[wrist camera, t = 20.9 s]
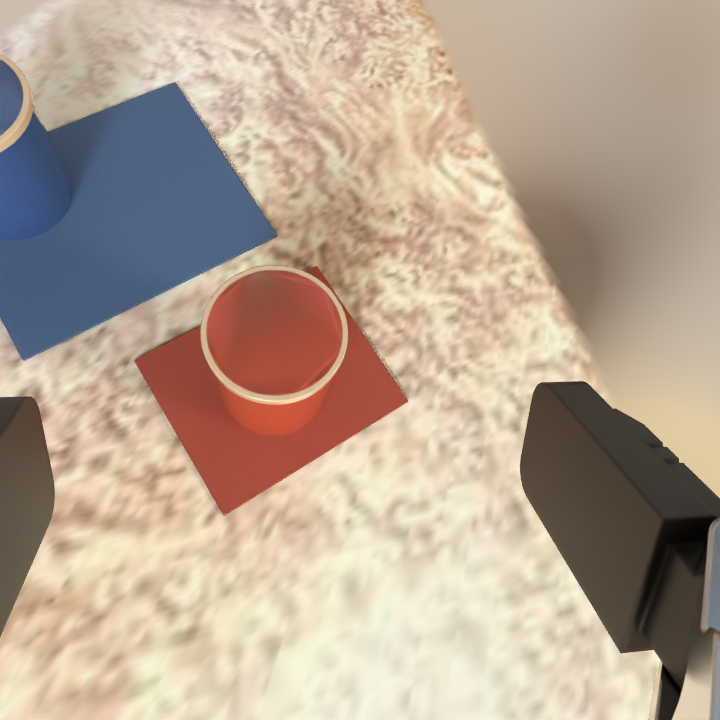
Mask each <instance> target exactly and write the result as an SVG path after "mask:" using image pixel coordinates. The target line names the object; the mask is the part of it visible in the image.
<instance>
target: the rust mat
mask: <svg viewBox="0 0 720 720" xmlns="http://www.w3.org/2000/svg"><path fill="white" fill-rule="evenodd" d="M306 273H309V274H311V275H312V276H314V277H316V278H317V279H319V280H320V281H321V282H323V283H324V284H325V285H326V286H327V287H328V288H329V289H330V290H331V291H332V292H333V293H334V295H335V296H336V297H337V295H336V294H335V292H334V291H333V289H332V288H331V286H330V285H329V283H328V282H327V281H326V279H325V278H324V276H323V275H322V273H321V272H320V270H319V269H318V267H317V266H316V267H314V268H312V269H310V270H308V271H306ZM337 299H338V301H339V302H340V304H341V306H342V308H343V311H344V313H345V316H346V320H347V326H348V343H347V349H346V352H345V355H344V359H343V361H342V363H341V366H340V368H339V369H338V371H337V373H336V374H335V376H334V377H333V379H332V382H331V385H330V389H329V392H328V395H327V398H326V401H325V403H324V406H323V408H322V409H321V411H320V413H319V414H318V415H317V416H316V418H315V419H314V420H313V421H312V422H310V423H309V424H308V425H307V426H305V427H304V428H302V429H300V430H298V431H296V432H293V433H290V434H287V435H282V436H265V435H260V434H256V433H253V432H251V431H249V430H246V429H245V428H243V427H242V426H240V425H239V424H238V423H236V422H235V421H234V420H233V419H232V418H231V417H230V415H229V414H228V413H227V411H226V410H225V408H224V406H223V404H222V401H221V398H220V395H219V391H218V387H217V384H216V380H215V376H214V374H213V372H212V371H211V369H210V367H209V365H208V363H207V361H206V359H205V356H204V353H203V349H202V344H201V333H200V331H201V326H200V327H198V328H196V329H194V330H192V331H190V332H188V333H186V334H184V335H182V336H180V337H179V338H177V339H175V340H173V341H171V342H169V343H167V344H165V345H163V346H161V347H159V348H157V349H155V350H153V351H151V352H150V353H148V354H146V355H144V356H142V357H140V358H138V359H136V360H134V361H135V363H136V364H137V366H138V368H139V370H140V371H141V373H142V375H143V377H144V378H145V380H146V382H147V384H148V385H149V387H150V389H151V390H152V392H153V394H154V396H155V397H156V399H157V401H158V403H159V404H160V406H161V408H162V409H163V411H164V413H165V415H166V416H167V418H168V420H169V422H170V423H171V425H172V427H173V429H174V430H175V432H176V434H177V435H178V437H179V439H180V441H181V442H182V444H183V446H184V448H185V449H186V451H187V453H188V454H189V456H190V458H191V460H192V461H193V463H194V465H195V467H196V468H197V470H198V472H199V474H200V475H201V477H202V479H203V480H204V482H205V484H206V486H207V487H208V489H209V491H210V493H211V494H212V496H213V498H214V499H215V501H216V503H217V505H218V506H219V508H220V510H221V512H222V513H223V515H226V514H227V513H229V512H231V511H232V510H234V509H236V508H237V507H239V506H240V505H242V504H244V503H245V502H247V501H248V500H250V499H252V498H253V497H255V496H257V495H258V494H260V493H261V492H263V491H265V490H266V489H268V488H269V487H271V486H273V485H274V484H276V483H278V482H279V481H281V480H282V479H284V478H286V477H287V476H289V475H290V474H292V473H294V472H295V471H297V470H299V469H300V468H302V467H303V466H305V465H307V464H308V463H310V462H311V461H313V460H315V459H316V458H318V457H320V456H321V455H323V454H324V453H326V452H328V451H329V450H331V449H332V448H334V447H336V446H337V445H339V444H341V443H342V442H344V441H345V440H347V439H349V438H350V437H352V436H353V435H355V434H357V433H358V432H360V431H361V430H363V429H365V428H366V427H368V426H370V425H371V424H373V423H374V422H376V421H378V420H379V419H381V418H382V417H384V416H386V415H387V414H389V413H391V412H392V411H394V410H395V409H397V408H399V407H400V406H402V405H403V404H405V403H407V402H408V400H407V399H406V397H405V396H404V394H403V393H402V392H401V390H400V389H399V387H398V386H397V384H396V383H395V381H394V380H393V378H392V377H391V375H390V374H389V372H388V371H387V369H386V368H385V366H384V365H383V363H382V362H381V360H380V359H379V357H378V356H377V355H376V353H375V352H374V350H373V349H372V347H371V346H370V344H369V343H368V341H367V340H366V338H365V337H364V335H363V334H362V332H361V331H360V329H359V328H358V326H357V325H356V323H355V322H354V320H353V319H352V318H351V316H350V315H349V313H348V312H347V310H346V309H345V307H344V306H343V304H342V303H341V301H340V300H339V298H338V297H337Z"/></svg>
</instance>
